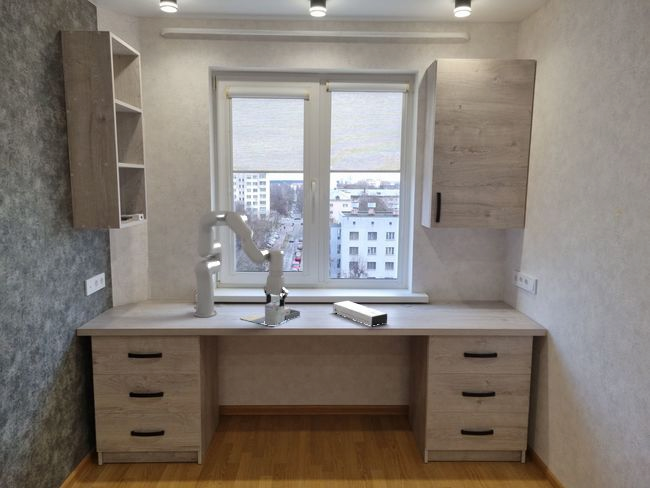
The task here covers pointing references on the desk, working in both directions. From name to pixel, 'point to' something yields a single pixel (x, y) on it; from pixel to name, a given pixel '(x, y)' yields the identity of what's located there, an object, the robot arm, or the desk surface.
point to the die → (287, 310)
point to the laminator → (359, 313)
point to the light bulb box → (274, 313)
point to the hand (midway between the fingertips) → (275, 304)
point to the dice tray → (292, 314)
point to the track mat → (255, 318)
